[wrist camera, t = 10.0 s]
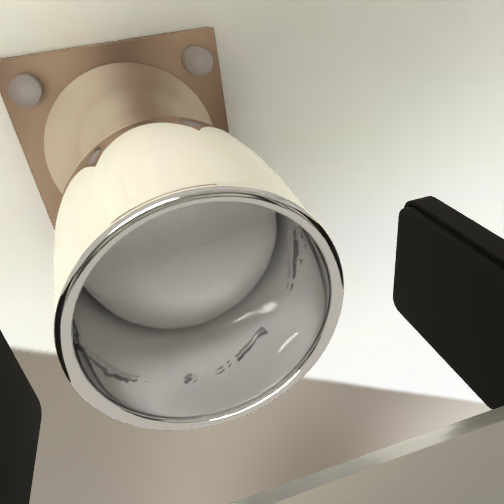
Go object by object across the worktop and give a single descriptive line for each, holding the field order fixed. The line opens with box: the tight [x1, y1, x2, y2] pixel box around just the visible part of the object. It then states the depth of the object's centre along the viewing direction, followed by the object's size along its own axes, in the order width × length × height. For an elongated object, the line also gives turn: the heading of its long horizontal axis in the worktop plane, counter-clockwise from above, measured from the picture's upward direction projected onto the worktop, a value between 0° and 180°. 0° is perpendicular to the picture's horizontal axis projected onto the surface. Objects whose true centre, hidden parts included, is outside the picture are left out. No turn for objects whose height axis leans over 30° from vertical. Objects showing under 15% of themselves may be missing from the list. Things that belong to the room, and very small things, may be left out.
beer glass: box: [53, 85, 344, 431], centre depth 16 cm, size 7×7×15 cm
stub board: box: [0, 27, 229, 230], centre depth 22 cm, size 10×10×3 cm
